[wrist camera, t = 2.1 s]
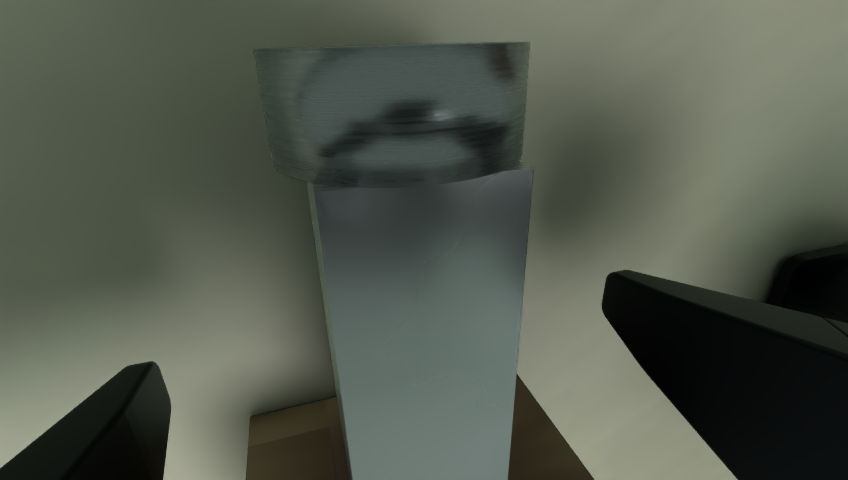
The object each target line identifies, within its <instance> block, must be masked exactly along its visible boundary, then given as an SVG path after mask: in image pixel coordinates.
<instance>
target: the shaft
mask: <svg viewBox="0 0 848 480" xmlns="http://www.w3.org/2000/svg"><path fill="white" fill-rule="evenodd" d="M253 51H254V57H255V63H256V69H257V75H258V80H259V86H260V92H261V98H262V104H263V110H264V116H265V121H266V127H267V133H268V139H269V145H270V151H271V157H272V163H273V166H274V168H275V169H276V170H277V171H279V172H280V173H282V174H284V175H286V176H289V177H291V178H294V179H298V180H302V181H306V182H307V189H308V196H309V203H310V210H311V217H312V224H313V231H314V239H315V246H316V253H317V260H318V267H319V274H320V281H321V288H322V296H323V303H324V310H325V317H326V324H327V331H328V338H329V346H330V353H331V360H332V367H333V374H334V381H335V388H336V396H337V403H338V410H339V417H340V424H341V431H342V438H343V446H344V453H345V460H346V467H347V474H348V480H508V470H509V458H510V446H511V434H512V422H513V410H514V398H515V386H516V374H517V362H518V350H519V338H520V326H521V314H522V302H523V290H524V278H525V266H526V254H527V242H528V230H529V218H530V206H531V194H532V182H533V170H534V168H533V167H531V166H529V165H527V164H525V163H522V162H520V161H519V160H520V159H521V156H522V149H523V135H524V121H525V107H526V93H527V79H528V65H529V51H530V42H481V43H436V44H395V45H357V46H322V47H289V48H262V49H253Z"/></svg>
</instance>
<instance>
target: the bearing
mask: <svg viewBox="0 0 848 480" xmlns="http://www.w3.org/2000/svg"><path fill="white" fill-rule="evenodd" d="M246 480H348V474H347V467H346V460H345V453H344V446H343V438H342V431H341V424H340V417H339V410H338V403H337V397H334V398H330V399H325V400H321V401H317V402H313V403H308V404H304V405H300V406H296V407H291V408H287V409H283V410H279V411H274V412H270V413H266V414H262V415H257V416H253V417H250V428H249V442H248V456H247V471H246ZM508 480H594V479H593V477H592V476H591V474H590V473H589V472H588V470H587V469H586V468H585V466H584V465H583V464H582V462H581V461H580V459H579V458H578V457H577V455H576V454H575V453H574V451H573V450H572V448H571V447H570V446H569V444H568V443H567V442H566V440H565V439H564V438H563V436H562V435H561V433H560V432H559V431H558V429H557V428H556V427H555V425H554V424H553V423H552V421H551V420H550V418H549V417H548V416H547V414H546V413H545V412H544V410H543V409H542V407H541V406H540V405H539V403H538V402H537V401H536V399H535V398H534V397H533V395H532V394H531V392H530V391H529V390H528V388H527V387H526V386H525V384H524V383H523V381H522V380H521V379H520V377H519V376H518V375H517V374H516V386H515V398H514V410H513V422H512V434H511V446H510V458H509V470H508Z"/></svg>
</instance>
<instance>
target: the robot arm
mask: <svg viewBox="0 0 848 480" xmlns="http://www.w3.org/2000/svg"><path fill="white" fill-rule="evenodd" d="M602 311H603V313H604V315H605V317H606V318H607V320H608V321H609V323H610V324H611V325H612V327H613V328H614V330H615V331H616V332H617V334H618V335H619V337H620V338H621V339H622V341H623V342H624V344H625V345H626V346H627V348H628V349H629V351H630V352H631V353H632V355H633V356H634V358H635V359H636V360H637V362H638V363H639V365H640V366H641V367H642V369H643V370H644V371H645V372H646V373H647V375H648V376H649V377H650V378H651V380H652V381H653V382H654V383H655V384H656V385H657V387H658V388H659V389H660V390H661V391H662V392H663V393H664V395H665V396H666V397H667V398H668V399H669V400H670V402H671V403H672V404H673V405H674V406H675V407H676V409H677V410H678V411H679V412H680V413H681V414H682V416H683V417H684V418H685V419H686V420H687V421H688V422H689V424H690V425H691V426H692V427H693V428H694V429H695V431H696V432H697V433H698V434H699V435H700V436H701V438H702V439H703V440H704V441H705V442H706V443H707V445H708V446H709V447H710V448H711V449H712V450H713V451H714V453H715V454H716V455H717V456H718V457H719V458H720V460H721V461H722V462H723V463H724V464H725V465H726V467H727V468H728V469H729V470H730V471H731V472H732V474H733V475H734V476H735V477H736V478H737V479H738V480H848V245H843V246H838V247H834V248H829V249H824V250H819V251H814V252H810V253H805V254H800V255H795V256H793V257H791V258H789V259H788V260H787V261H786V262H785V263H784V265H783V266H782V268H781V271H780V273H779V276H778V279H777V282H776V285H775V287H774V290H773V293H772V296H771V298H770V301H769V304H765V303H761V302H757V301H753V300H749V299H745V298H741V297H737V296H733V295H728V294H724V293H720V292H716V291H712V290H708V289H704V288H700V287H696V286H692V285H687V284H683V283H679V282H675V281H671V280H667V279H663V278H659V277H655V276H651V275H646V274H642V273H638V272H634V271H630V270H622V271H617V272H612V273H610V274H609V275H608V276H607V278H606V282H605V288H604V293H603V299H602ZM170 416H171V402H170V397H169V394H168V391H167V388H166V386H165V383H164V380H163V377H162V374H161V371H160V369H159V366H158V365H157V364H156V363H155V362H153V361H150V362H145V363H139V364H134V365H129V366H127V367H125V368H124V369H122V370H121V371H120V372H119V373H117V374H116V375H115V376H114V377H113V378H111V379H110V380H109V381H108V382H106V383H105V384H104V385H103V386H101V387H100V388H99V389H98V390H96V391H95V392H94V393H93V394H92V395H90V396H89V397H88V398H87V399H85V400H84V401H83V402H82V403H80V404H79V405H78V406H77V407H75V408H74V409H73V410H72V411H71V412H69V413H68V414H67V415H66V416H64V417H63V418H62V419H61V420H59V421H58V422H57V423H56V424H54V425H53V426H52V427H51V428H50V429H48V430H47V431H46V432H45V433H43V434H42V435H41V436H40V437H38V438H37V439H36V440H35V441H33V442H32V443H31V444H30V445H29V446H27V447H26V448H25V449H24V450H22V451H21V452H20V453H19V454H17V455H16V456H15V457H14V458H12V459H11V460H10V461H9V462H8V463H6V464H5V465H4V466H3V467H1V468H0V480H163V475H164V467H165V458H166V450H167V441H168V433H169V424H170Z"/></svg>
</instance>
